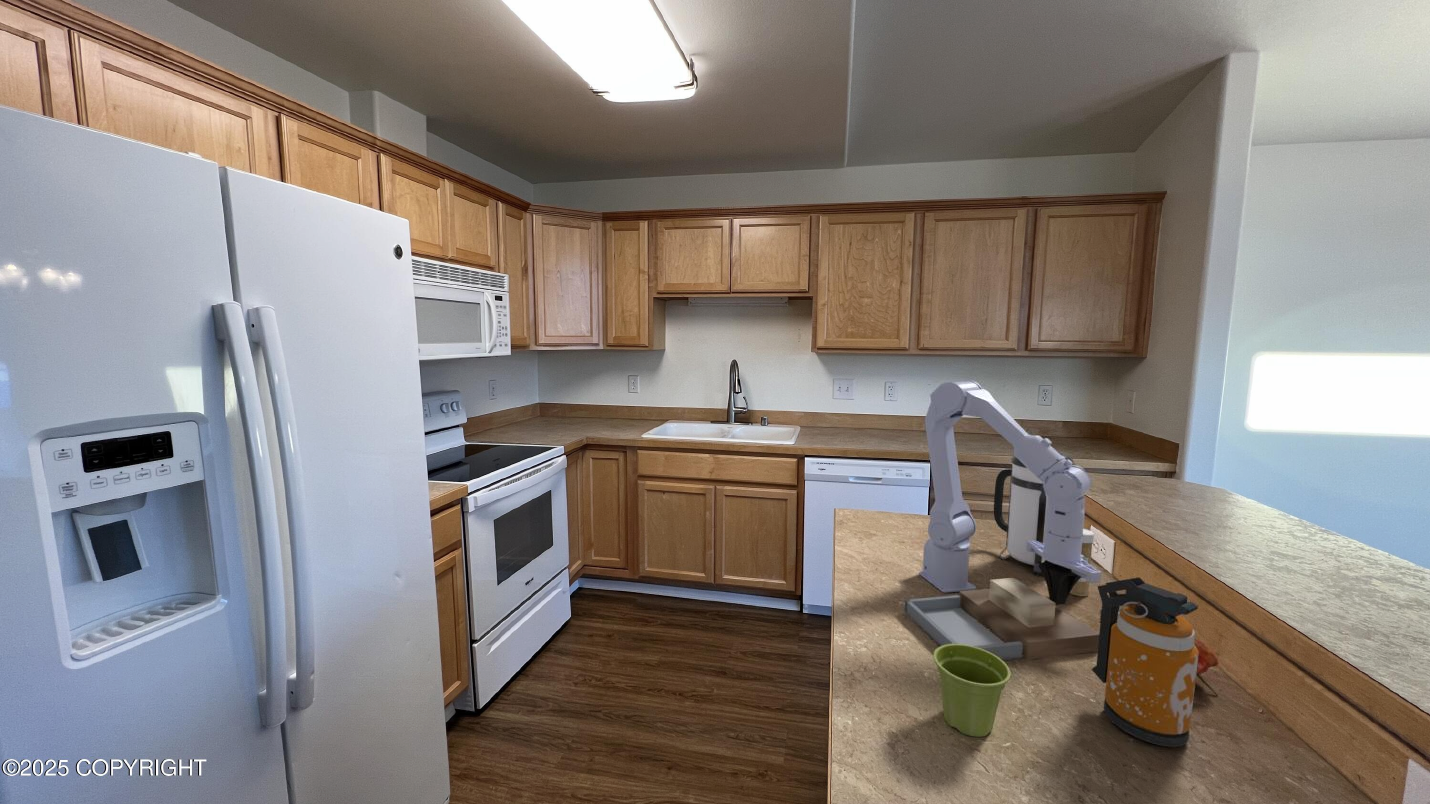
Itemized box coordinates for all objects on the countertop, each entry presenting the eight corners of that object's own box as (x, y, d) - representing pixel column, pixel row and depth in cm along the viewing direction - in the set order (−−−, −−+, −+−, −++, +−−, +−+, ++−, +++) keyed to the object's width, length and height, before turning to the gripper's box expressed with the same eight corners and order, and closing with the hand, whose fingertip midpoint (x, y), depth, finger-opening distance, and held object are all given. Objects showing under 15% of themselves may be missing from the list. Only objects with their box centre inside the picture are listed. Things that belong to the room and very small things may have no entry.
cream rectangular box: (988, 599, 100) (990, 579, 100) (1011, 597, 101) (1013, 577, 101) (1028, 627, 90) (1030, 605, 90) (1053, 624, 91) (1055, 603, 91)
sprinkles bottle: (1092, 593, 109) (1098, 531, 107) (1082, 599, 106) (1088, 536, 105) (1068, 585, 113) (1073, 525, 111) (1058, 590, 110) (1063, 529, 109)
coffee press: (1071, 558, 127) (1081, 437, 123) (1074, 583, 113) (1086, 448, 110) (991, 543, 136) (998, 430, 133) (985, 565, 123) (993, 440, 119)
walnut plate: (958, 605, 104) (959, 591, 103) (1020, 599, 106) (1021, 585, 106) (1027, 659, 86) (1028, 642, 86) (1099, 650, 89) (1101, 634, 88)
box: (904, 612, 101) (905, 599, 101) (957, 607, 103) (958, 595, 103) (960, 665, 85) (960, 650, 84) (1021, 657, 87) (1022, 643, 86)
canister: (1168, 761, 65) (1185, 610, 63) (1074, 706, 75) (1085, 574, 73) (1201, 736, 69) (1218, 593, 67) (1107, 687, 79) (1119, 561, 77)
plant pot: (922, 695, 77) (925, 640, 76) (988, 700, 76) (992, 644, 75) (943, 744, 68) (946, 682, 67) (1019, 750, 67) (1023, 687, 66)
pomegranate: (1215, 695, 81) (1159, 632, 87) (1254, 679, 76) (1191, 614, 82) (1182, 710, 79) (1127, 645, 85) (1220, 695, 74) (1159, 626, 80)
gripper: (1119, 546, 89) (1111, 621, 91) (1050, 518, 103) (1045, 583, 105) (1083, 548, 88) (1077, 624, 89) (1019, 520, 102) (1014, 586, 103)
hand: (1057, 602), depth 97 cm, fingers closed
